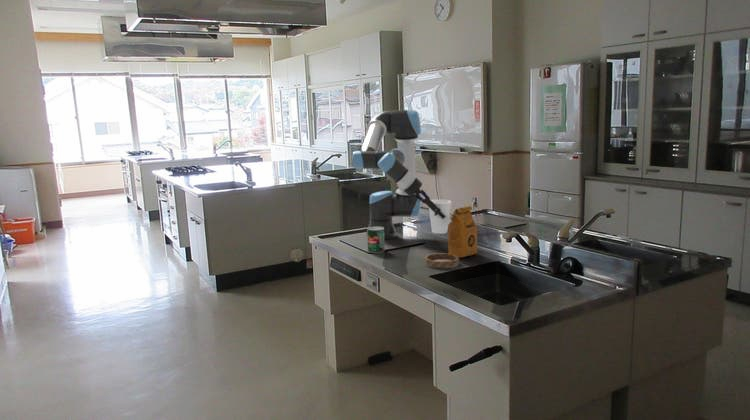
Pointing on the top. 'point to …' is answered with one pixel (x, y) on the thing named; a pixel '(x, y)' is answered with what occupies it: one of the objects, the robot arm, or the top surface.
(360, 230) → the top surface
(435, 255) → the walnut ring holder
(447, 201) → the foam cup
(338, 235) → the top surface
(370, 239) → the canned tomato
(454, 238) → the coffee package
